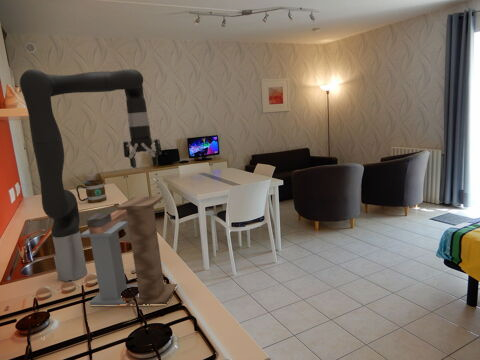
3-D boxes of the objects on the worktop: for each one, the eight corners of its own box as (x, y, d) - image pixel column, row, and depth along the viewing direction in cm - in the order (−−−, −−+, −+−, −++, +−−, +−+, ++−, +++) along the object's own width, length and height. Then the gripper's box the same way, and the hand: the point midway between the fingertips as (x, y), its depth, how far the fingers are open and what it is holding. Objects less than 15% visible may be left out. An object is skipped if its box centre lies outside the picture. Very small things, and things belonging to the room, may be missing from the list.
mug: (103, 197, 266) (100, 178, 263) (109, 200, 255) (106, 180, 252) (76, 203, 254) (73, 183, 251) (81, 206, 243) (77, 185, 240)
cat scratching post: (129, 306, 108) (113, 207, 101) (143, 288, 118) (129, 197, 112) (166, 306, 106) (152, 205, 100) (177, 288, 117) (165, 195, 110)
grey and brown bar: (89, 233, 104) (86, 219, 103) (118, 214, 123) (116, 202, 122) (103, 233, 104) (100, 219, 103) (130, 214, 122) (128, 202, 121)
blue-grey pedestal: (90, 306, 109) (77, 234, 105) (107, 288, 120) (96, 222, 115) (126, 306, 108) (114, 233, 103) (140, 288, 118) (130, 221, 114)
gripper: (116, 127, 129) (123, 169, 132) (153, 124, 127) (158, 167, 130) (125, 126, 136) (131, 166, 139) (160, 123, 134) (165, 164, 137)
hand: (144, 167), depth 135 cm, fingers open, 8 cm apart
